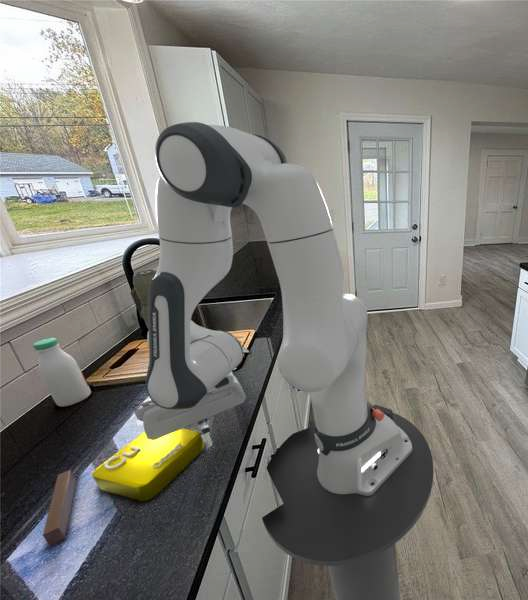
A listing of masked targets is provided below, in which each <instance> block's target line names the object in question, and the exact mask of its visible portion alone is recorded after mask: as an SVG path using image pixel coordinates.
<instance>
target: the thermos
mask: <svg viewBox="0 0 528 600" xmlns="http://www.w3.org/2000/svg"><path fill="white" fill-rule="evenodd" d="M156 272H157V270H155V269H145V270H141V271H138V272H135V273H134V274H133V275H132V285H133V288H132V289H131V291H130V295H131V298H132V300H133V303H134V305H135V307H136V309H137V312H138V315H139V317H140V318H141V319H143V321H144V323H145V326H146V328H147V329H148V330H149V325H148V293H149V287H150V284H151V282H152V280H153V278H154V277H155V274H156Z"/></svg>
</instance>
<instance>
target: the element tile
mask: <svg viewBox="0 0 528 600" xmlns="http://www.w3.org/2000/svg"><path fill="white" fill-rule="evenodd" d="M204 449H205V443H204V440H203V437H202V436H201V434H200V432H199V431H197V430H195V429H189V428H182V429H180V430H178V431H175V432H173V433H171V434H168V435H166V436H164V437H161V438H159V439H157V440H149V439H147V437H146V434H145V430H143V431H142V433H141V434H139V435H138V436H136V437H135V438H133V439H132V440H131V441H130V442H129V443H127V444H126V445H124V446H123V447H122V448H121V449H119V450H117V451H116V452H115V453H114V454H113V455H112V456H110V457H109V458H108V459H106V460H104V461H103V462H102V463H101V464H100V465H98V466H97V467H96V468H95V469H94V470H93V471H92V474H91V475H92V478H93V479H94V481H95V483H96V485H97V487H98V488H99V489H100V490H101V491H104V492H108V493H111V494H115V495H119V496H122V497H126V498H129V499H132V500H137V501H139V502H145V501H146V502H147V501H150V500H152V499H154V498H155V497H156V496H157V495H159V494H160V493H161V492H162V491H163V490H164V489H165V488H166V487H167V486H168V485H169V484H170V483H171V482H172V481H173V480H174V479H175V478H176V477H177V476H178V475H179V474H180V473H181V472H183V470H185V468H186V467H187V466H189V464H191V462H192V461H194V459H195V458H196V457H198V456H199V455H200V453H202V452H203V450H204Z"/></svg>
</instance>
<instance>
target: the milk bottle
mask: <svg viewBox="0 0 528 600" xmlns="http://www.w3.org/2000/svg"><path fill="white" fill-rule="evenodd" d="M32 347H33V349H34V350H35V352H36V353H38V366H37V371H38V373H39V375H40V378H41V379H42V381H43V383H44V385H45V387H46V389H47V391H48V392H49V394H50V396H51V398H52V399H53V401H54V403H55V405H56V406H58V407H68V406H73V405H75V404H77V403H80V402H82V401H84V400H86V399H88V397H89V396H90V395H91V394H92V390H91V387H90V386H89V383H88V382H87V380H86V377H85V376H84V374H83V372H82V370H81V368H80V367H79V364H78V363H77V361H76V360H75V358H73V356H72V355H70V354H69V353H67V352H65V351H64V350H63V349H62V348H60V343H59V341H58V340H57V338H55V337H50V338H49V337H48V338H44V339H40V340H38V341H36V342H35V343H33V345H32Z"/></svg>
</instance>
